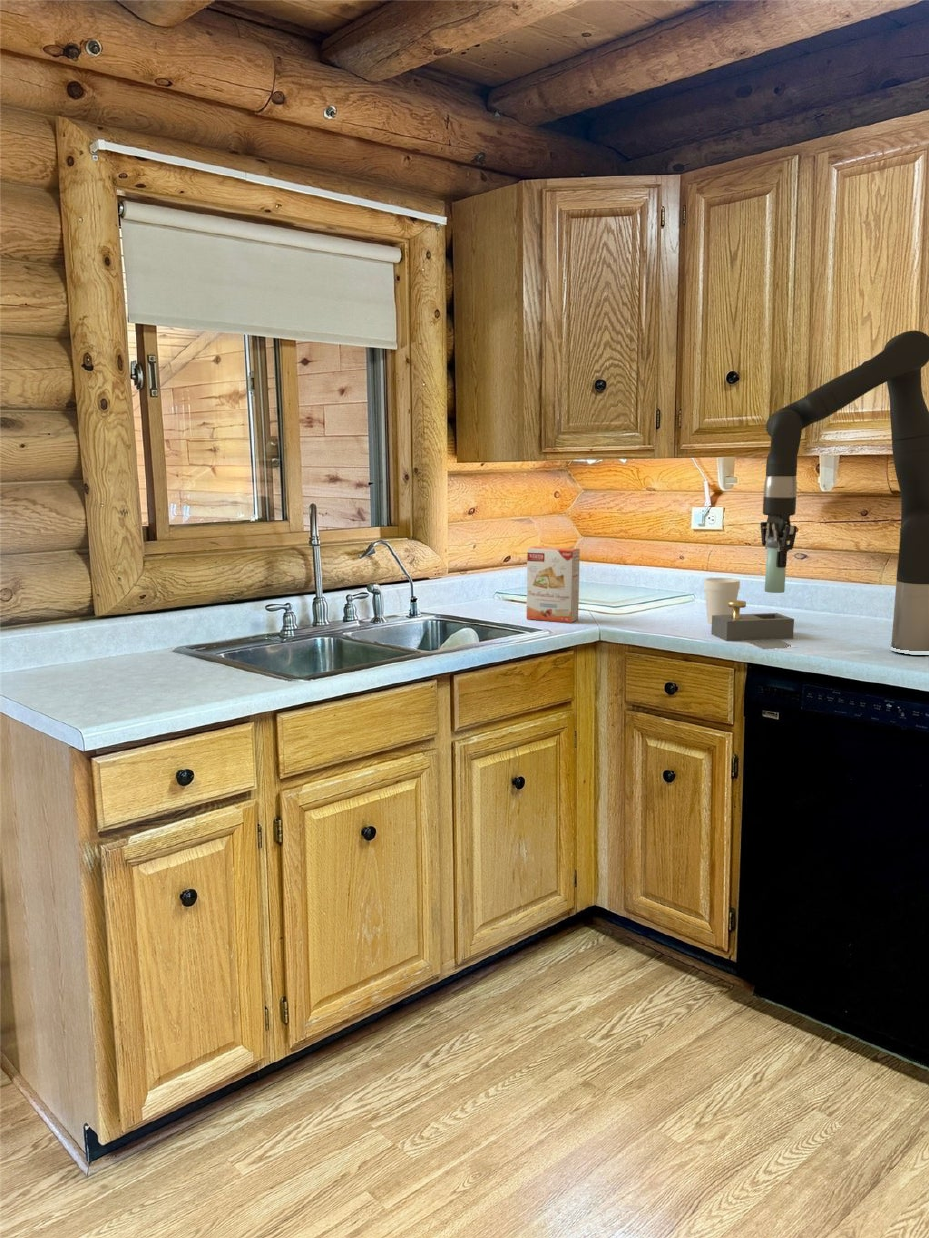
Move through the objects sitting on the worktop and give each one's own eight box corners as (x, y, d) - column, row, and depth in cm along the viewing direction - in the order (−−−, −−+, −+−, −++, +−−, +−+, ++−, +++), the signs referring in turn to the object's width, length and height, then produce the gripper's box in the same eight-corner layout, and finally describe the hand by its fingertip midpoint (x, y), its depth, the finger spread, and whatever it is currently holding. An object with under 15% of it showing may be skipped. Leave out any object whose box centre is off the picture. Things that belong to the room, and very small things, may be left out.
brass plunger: (739, 635, 248) (741, 600, 246) (747, 638, 244) (749, 602, 242) (723, 635, 247) (725, 600, 245) (730, 639, 243) (732, 603, 241)
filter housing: (775, 635, 252) (776, 612, 251) (792, 642, 243) (794, 618, 242) (711, 637, 249) (712, 615, 248) (726, 644, 240) (727, 621, 239)
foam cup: (713, 630, 259) (715, 583, 257) (696, 624, 268) (698, 578, 265) (744, 628, 262) (746, 581, 259) (726, 622, 270) (728, 577, 268)
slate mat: (779, 644, 241) (779, 640, 241) (797, 651, 232) (797, 647, 232) (745, 645, 240) (745, 641, 240) (762, 652, 231) (762, 648, 231)
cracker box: (525, 619, 276) (526, 547, 272) (534, 616, 281) (534, 545, 277) (571, 624, 269) (572, 549, 265) (578, 620, 274) (580, 547, 271)
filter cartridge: (779, 589, 236) (781, 537, 234) (789, 592, 232) (792, 539, 229) (760, 590, 236) (762, 537, 233) (769, 593, 231) (772, 539, 228)
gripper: (809, 496, 223) (805, 569, 226) (779, 493, 237) (776, 562, 240) (779, 497, 222) (775, 570, 225) (751, 494, 236) (748, 562, 239)
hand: (775, 565), depth 232 cm, fingers closed on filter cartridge, 4 cm apart
